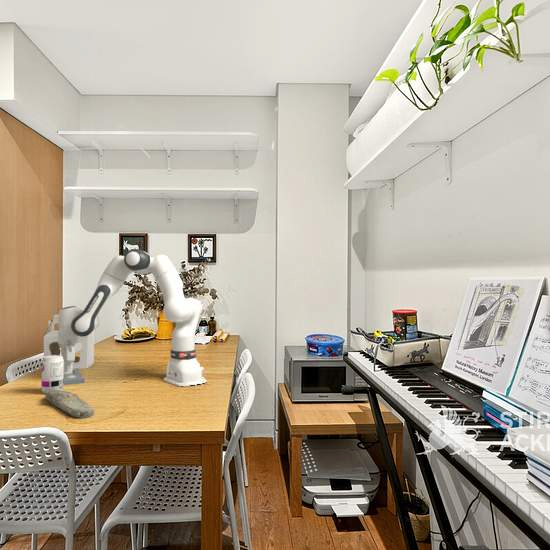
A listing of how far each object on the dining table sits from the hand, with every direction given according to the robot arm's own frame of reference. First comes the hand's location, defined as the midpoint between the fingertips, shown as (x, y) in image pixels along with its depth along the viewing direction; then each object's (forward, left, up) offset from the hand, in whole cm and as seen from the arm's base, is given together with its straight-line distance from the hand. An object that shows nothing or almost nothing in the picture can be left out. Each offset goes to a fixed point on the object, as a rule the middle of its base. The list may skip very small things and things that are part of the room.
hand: (67, 367), depth 207 cm
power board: (-5, 0, -4) cm, 7 cm away
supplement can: (-25, +9, -4) cm, 27 cm away
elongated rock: (-50, +6, -5) cm, 51 cm away
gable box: (+24, -4, -5) cm, 25 cm away
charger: (0, 0, -3) cm, 3 cm away
